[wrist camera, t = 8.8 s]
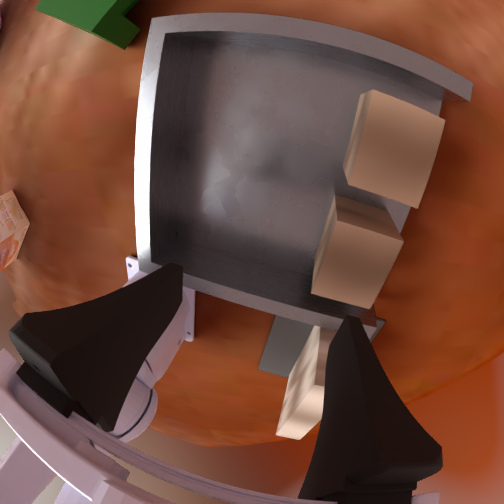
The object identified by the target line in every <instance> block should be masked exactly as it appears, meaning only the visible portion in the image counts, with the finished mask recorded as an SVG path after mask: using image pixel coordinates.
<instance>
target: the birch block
mask: <svg viewBox="0 0 504 504" xmlns="http://www.w3.org/2000/svg"><path fill="white" fill-rule="evenodd" d="M336 332H337V331H334V330H330V329H326V328H323V327H319V326H315V325H314V327H313V329H312V332H311V334H310V336H309V338H308V340H307V342H306V344H305V346H304V348H303V350H302V352H301V354H300V356H299V358H298V360H297V361H296V363H295V365H294V367H293V369H292V371H291V373H290V375H289V380H288V384H287V389H286V393H285V398H284V402H283V407H282V411H281V415H280V420H279V424H278V428H277V432H276V435H279V436H283V437H288V438H293V439H298V440H300V439H301V438H302V437H303V436H304V435H305V434H306V433H307V432H308V431H309V430H311V429H312V428H313V427H314V426H315V425H316V424H317V423H318V422H319V421H320V420H321V419H322V412H323V402H324V386H325V369H326V361H327V355H328V349H329V345H330V343H331V341H332V339H333V338H334V336H335V334H336Z"/></svg>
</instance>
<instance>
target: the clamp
mask: <svg viewBox="0 0 504 504" xmlns="http://www.w3.org/2000/svg"><path fill="white" fill-rule="evenodd" d="M138 1H139V0H41V1H40V2H39V4H38V5H37V6H36V8H35V9H34V10H37V11H39V12H42V13H44V14H47V15H49V16H52V17H54V18H57V19H59V20H61V21H63V22H66V23H68V24H70V25H73V26H75V27H77V28H80V29H82V30H84V31H87V32H89V33H91V34H93V35H95V36H97V37H99V38H102V39H104V40H106V41H108V42H110V43H112V44H114V45H116V46H118V47H120V48H122V49H124V50H125V49H126V48H127V46H128V45H129V44H130V43H131V41H132V40H133V39H134V38H135V37H136V35H137V34H138V33H139V32H140V31H141V29H140V28H138V27H137V26H136V25H135V24H133V23H132V22H131V21H129V20H128V19H127V18H125V17H124V16H125V15H126V14H127V13H128V12H129V11H130V9H131V8H132V7H133V6H134V5H135V4H136V3H137V2H138Z"/></svg>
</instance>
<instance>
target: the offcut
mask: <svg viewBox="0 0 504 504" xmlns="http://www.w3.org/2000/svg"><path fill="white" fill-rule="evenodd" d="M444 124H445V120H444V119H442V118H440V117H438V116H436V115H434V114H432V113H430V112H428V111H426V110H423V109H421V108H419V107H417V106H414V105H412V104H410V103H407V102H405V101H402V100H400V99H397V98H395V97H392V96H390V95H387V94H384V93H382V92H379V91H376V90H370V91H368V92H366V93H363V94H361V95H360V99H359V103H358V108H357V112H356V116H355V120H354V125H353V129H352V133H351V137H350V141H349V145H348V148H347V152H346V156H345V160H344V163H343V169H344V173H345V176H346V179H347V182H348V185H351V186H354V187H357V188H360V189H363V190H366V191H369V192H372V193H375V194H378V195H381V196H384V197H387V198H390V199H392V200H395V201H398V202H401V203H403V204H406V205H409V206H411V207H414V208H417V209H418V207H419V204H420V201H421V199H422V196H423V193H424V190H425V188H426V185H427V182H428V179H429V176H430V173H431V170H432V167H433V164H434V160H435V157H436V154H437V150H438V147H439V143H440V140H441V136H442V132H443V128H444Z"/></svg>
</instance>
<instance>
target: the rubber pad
mask: <svg viewBox="0 0 504 504" xmlns="http://www.w3.org/2000/svg"><path fill="white" fill-rule="evenodd" d="M376 323H377V329H376V330H375V332H374V333H373V335H372V336H371V338H370V339H369V340H370V343H372V341H373V340H374V338H375V337H376V335H377V334H378V332H379V331H380V329H381V328H382V326H383V325H384V323H385V320H383V319H379V318H376ZM313 327H314V325H311V324H307V323H303V322H300V321H296V320H292V319H289V318H285V317H281V316H278V315H276V316H275V319H274V322H273V325H272V328H271V331H270V334H269V337H268V340H267V343H266V346H265V349H264V352H263V355H262V358H261V361H260V364H259V367H258V370H261V371H265V372H269V373H272V374H276V375H280V376H284V377H288V378H289V375H290V373H291V371H292V369H293V367H294V365H295V363H296V361H297V360H298V358H299V356H300V354H301V352H302V350H303V348H304V346H305V344H306V342H307V340H308V338H309V336H310V334H311V332H312V329H313Z"/></svg>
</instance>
